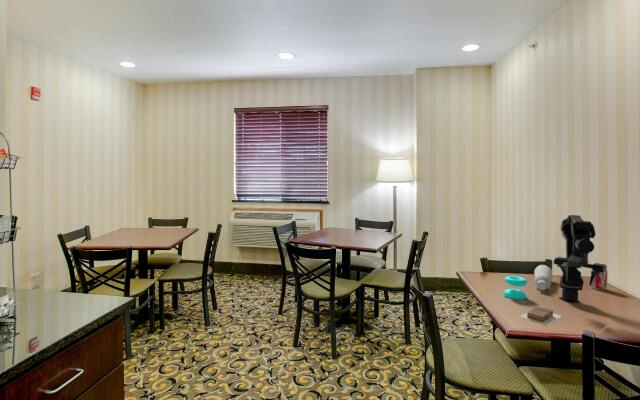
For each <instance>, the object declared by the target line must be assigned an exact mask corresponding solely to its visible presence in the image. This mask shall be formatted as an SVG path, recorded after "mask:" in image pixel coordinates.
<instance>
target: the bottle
mask: <svg viewBox="0 0 640 400" xmlns="http://www.w3.org/2000/svg"><path fill="white" fill-rule="evenodd" d="M533 276H534V279H533V283H534V286H535V287H536V288H537V289H538V290H539V291H546V290H548V289H550V287H552V278H553V271H552V268H550V267H549V266H547V265H545V264H539V265H538V266H537V267H536V268H535V269H534V273H533Z"/></svg>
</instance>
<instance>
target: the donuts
mask: <svg viewBox="0 0 640 400" xmlns="http://www.w3.org/2000/svg"><path fill="white" fill-rule="evenodd" d="M504 282H505V284H507V285H509V286H512V287H515V288H509V289H505V290H504V291H503V295H504V297H505V298H508V299H513V300H518V301H519V300H521V301H523V300H526V299H527V294H526V293H525V291H522V290H520V289H516V287H517V288H518V287H520V288H521V287H525V286H526V285H527V284H528V280H527V279H526V278H524V277H523V276H517V275H508V276H505V277H504Z"/></svg>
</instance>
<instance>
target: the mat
mask: <svg viewBox="0 0 640 400" xmlns="http://www.w3.org/2000/svg"><path fill="white" fill-rule="evenodd" d="M519 317H520V318H522V319H526V320H530V321H532V322H536V323H539V324H542V325H546V326H550V325H551V324H552V323H554V322H556V321H557V320H558V319H560V318H562V315H560V314H557V313H553V316H552V317H551V318H549V319H547V320H546V321H544V322H540V321H537V320H533V319H530V318H527V312H526V313H524V314H522V315H519Z"/></svg>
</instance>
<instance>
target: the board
mask: <svg viewBox="0 0 640 400" xmlns="http://www.w3.org/2000/svg"><path fill="white" fill-rule="evenodd" d="M526 313H527V318H530V319H533V320H537V321H540V322H544V321H546V320H547V319H549V318H551V317H552V316H553V314H554V310H553V309H549V308H545V307H541V306H536V307H534V308H532V309H530V310H529V311H527V312H526Z"/></svg>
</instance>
